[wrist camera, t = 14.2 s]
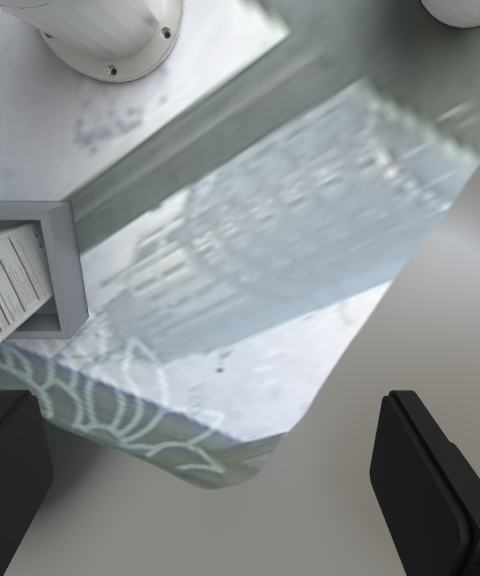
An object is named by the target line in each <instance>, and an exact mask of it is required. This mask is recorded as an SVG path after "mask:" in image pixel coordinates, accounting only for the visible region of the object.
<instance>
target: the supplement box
mask: <svg viewBox="0 0 480 576" xmlns="http://www.w3.org/2000/svg"><path fill="white" fill-rule="evenodd" d="M53 295H54V290H53V285H52V279H51V274H50V269H49V263H48V258H47V253H46V248H45V246H44V243H43V241H42V239H41V237H40V235H39V233H38V231H37V228H36V226H35V224H34V223H33V222H27V223H23V224H18V225H15V226H11V227H7V228H3V229H0V343H1V342H2V341H3V340H4V339H5V338H6V337H7V336H8V335H10V334H11V333H12V332H13V331H14V330H15V329H16V328H17V327H19V326H20V325H21V324H22V323H23V322H24V321H25V320H27V319H28V318H29V317H30V316H31V315H32V314H33V313H34V312H36V311H37V310H38V309H39V308H40V307H41V306H42V305H43V304H44V303H45V302H47V301H48V300H49V299H50V298H51V297H52V296H53Z"/></svg>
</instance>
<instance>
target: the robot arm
mask: <svg viewBox="0 0 480 576" xmlns="http://www.w3.org/2000/svg"><path fill="white" fill-rule="evenodd" d="M0 9H2V10H4V11H6V12H8V13H9V14H11V15H13V16H15V17H17V18H19V19H21V20H23V21H24V22H26V23H28V24H30V25H32V26H34V27H36V28H37V29H38V30H39V32H40V34H41V35H42V37H43V39H44V40H45V42H46V43H47V44H48V46H49V47H50V48H51V49H52V50H53V52H54V53H55V54H56V55H57V56H58V57H59V58H60V59H62V60H63V61H64V62H65V63H66V64H67V65H68V66H70V67H72V68H73V69H75V70H77V71H78V72H80V73H82V74H84V75H86V76H89V77H91V78H94V79H98V80H101V81H105V82H119V83H120V82H126V81H132V80H135V79H138V78H140V77H143V76H145V75H147V74H148V73H150V72H151V71H153V70H154V69H156V68H157V67H158V66H159V65H160V64H161V63H162V62H163V61H164V60H165V58H166V57H167V56H168V54H169V53H170V51H171V50H172V48H173V46H174V45H175V42H176V40H177V37H178V35H179V32H180V29H181V24H182V19H183V14H184V0H0ZM167 32H168V33H170V37H169V38H168V39H167V38H165V33H167ZM52 36H53V37H54V38H53V37H52ZM113 69H116V70H117V74H116V75H113V73H112V70H113ZM53 476H54V469H53V465H52V461H51V456H50V452H49V447H48V443H47V439H46V434H45V430H44V426H43V421H42V416H41V412H40V408H39V403H38V399H37V397H36V396H34V395H32V394H31V392H30V391H29V390H4V391H3V392H2V393H0V576H3V575H4V573H5V571H6V569H7V568H8V565H9V563H10V562H11V560H12V558H13V556H14V554H15V552H16V550H17V549H18V547H19V545H20V543H21V541H22V539H23V537H24V535H25V533H26V531H27V529H28V528H29V526H30V524H31V522H32V520H33V518H34V516H35V514H36V513H37V511H38V509H39V507H40V505H41V503H42V501H43V499H44V498H45V496H46V494H47V492H48V490H49V488H50V486H51V484H52V481H53ZM370 480H371V484H372V487H373V490H374V492H375V495H376V497H377V500H378V503H379V505H380V508H381V510H382V513H383V516H384V518H385V521H386V523H387V526H388V528H389V531H390V534H391V536H392V539H393V542H394V544H395V547H396V549H397V552H398V554H399V557H400V559H401V562H402V564H403V567H404V570H405V573H406V575H407V576H480V479H479V477H478V476H477V474H476V473H475V471H474V470H473V469H472V467H471V466H470V464H469V463H468V462H467V460H466V459H465V457H464V456H463V455H462V453H461V452H460V450H459V449H458V448H457V447H456V445H455V444H453V443H451V442H449V440H448V439H447V437H446V436H445V434H444V433H443V432H442V430H441V429H440V427H439V426H438V424H437V423H436V422H435V420H434V419H433V417H432V416H431V414H430V413H429V412H428V410H427V408H426V407H425V406H424V404H423V403H422V401H421V400H420V398H419V397H418V396H417V394H416V393H415V392H414V391H411V390H406V391H405V390H404V391H403V390H401V391H400V390H396V391H395V390H394V391H393V390H392V391H390V393H389V395H388V396H384V397H383V399H382V404H381V410H380V415H379V421H378V427H377V432H376V437H375V443H374V449H373V454H372V460H371V466H370Z"/></svg>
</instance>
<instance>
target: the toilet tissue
mask: <svg viewBox="0 0 480 576" xmlns="http://www.w3.org/2000/svg"><path fill="white" fill-rule="evenodd" d="M421 1H422V3H423V5H424V6H425V7H426V9H427V10H428V11H429V13H430V14H431V15H433V16H434V17H435V18H436V19H438V20H439V21H441V22H443V23H445V24H447V25H450V26H454V27H460V28H467V27H476V26H480V0H421Z"/></svg>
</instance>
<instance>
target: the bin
mask: <svg viewBox="0 0 480 576" xmlns="http://www.w3.org/2000/svg"><path fill="white" fill-rule="evenodd" d="M27 222H33V223H34V224H35V226H36V228H37V231H38V233H39V235H40V237H41V239H42V241H43V243H44V246H45V248H46V253H47V258H48V263H49V269H50V274H51V279H52V285H53V290H54V295H53V296H52V297H51V298H50V299H49V300H48V301H47V302H45V303H44V304H43V305H42V306H41V307H40V308H39V309H38V310H37V311H36V312H34V313H33V314H32V315H31V316H30V317H29V318H28V319H27V320H25V321H24V322H23V323H22V324H21V325H20V326H19V327H17V328H16V329H15V330H14V331H13V332H12V333H11V334H10V335H8V336H7V337H6V338H5V339H71V338H72V336H73V335H74V334H75V333H76V332H77V330H78V329H79V328H80V327H81V325H82V324H83V323H84V322H85V320H86V319H87V318H88V317H89V314H88V308H87V302H86V295H85V289H84V282H83V276H82V269H81V263H80V257H79V250H78V244H77V237H76V231H75V224H74V218H73V211H72V205H71V201H0V229H3V228H7V227H11V226H15V225H18V224H23V223H27Z"/></svg>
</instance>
